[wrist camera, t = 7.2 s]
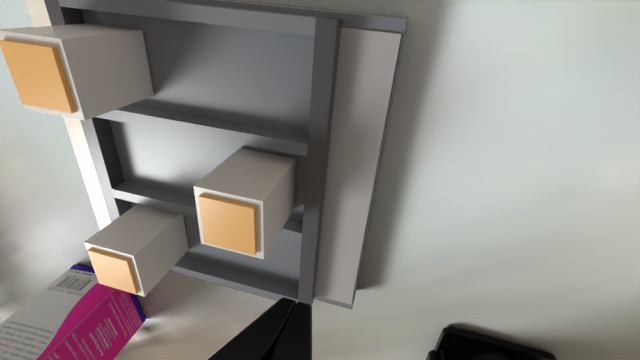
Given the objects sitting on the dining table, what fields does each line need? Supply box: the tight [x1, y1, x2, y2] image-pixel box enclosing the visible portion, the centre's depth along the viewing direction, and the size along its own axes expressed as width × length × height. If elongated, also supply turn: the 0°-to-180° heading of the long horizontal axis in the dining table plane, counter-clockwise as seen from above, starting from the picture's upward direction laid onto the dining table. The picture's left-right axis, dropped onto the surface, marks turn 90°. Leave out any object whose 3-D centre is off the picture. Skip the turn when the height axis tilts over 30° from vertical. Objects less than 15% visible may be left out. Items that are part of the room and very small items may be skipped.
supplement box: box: [0, 264, 146, 360], centre depth 24 cm, size 6×6×12 cm
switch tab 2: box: [84, 203, 189, 297], centre depth 19 cm, size 3×3×4 cm
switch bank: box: [25, 0, 408, 309], centre depth 18 cm, size 18×16×2 cm
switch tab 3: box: [193, 148, 296, 259], centre depth 15 cm, size 3×3×4 cm
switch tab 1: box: [0, 23, 154, 120], centre depth 14 cm, size 3×3×4 cm
